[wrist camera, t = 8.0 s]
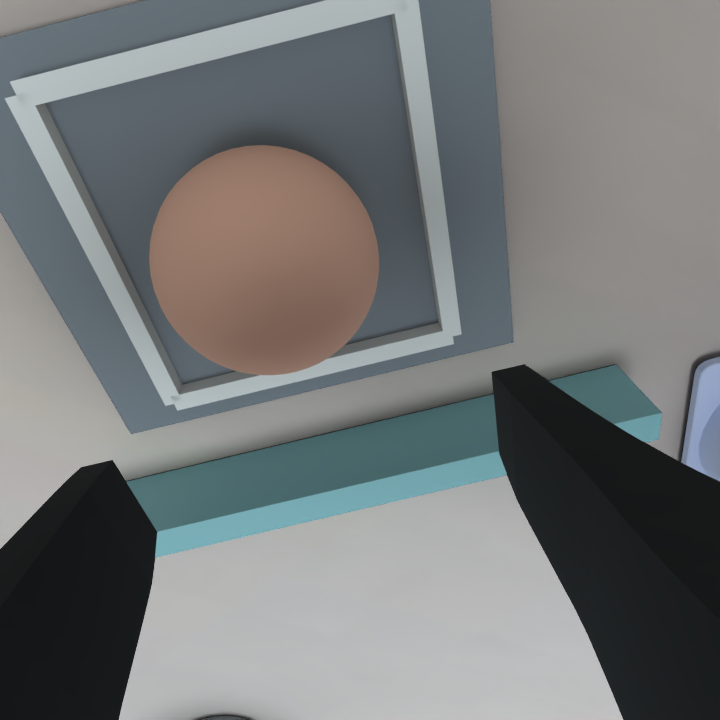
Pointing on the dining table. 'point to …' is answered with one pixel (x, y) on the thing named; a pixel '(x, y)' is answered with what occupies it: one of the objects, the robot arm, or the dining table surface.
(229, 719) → the beer can
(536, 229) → the dining table surface
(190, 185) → the ball
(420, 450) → the acrylic wall
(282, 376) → the rubber mat
